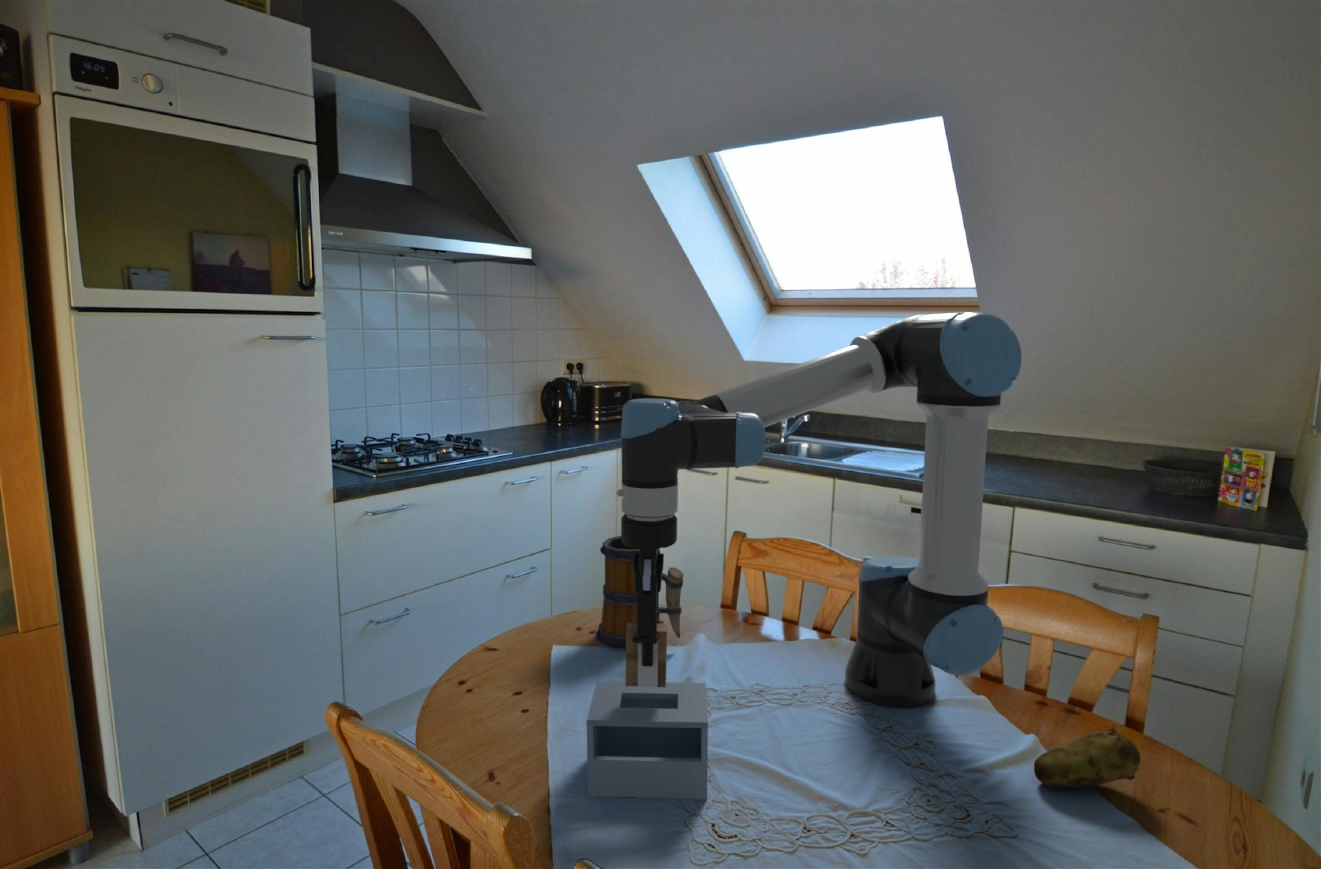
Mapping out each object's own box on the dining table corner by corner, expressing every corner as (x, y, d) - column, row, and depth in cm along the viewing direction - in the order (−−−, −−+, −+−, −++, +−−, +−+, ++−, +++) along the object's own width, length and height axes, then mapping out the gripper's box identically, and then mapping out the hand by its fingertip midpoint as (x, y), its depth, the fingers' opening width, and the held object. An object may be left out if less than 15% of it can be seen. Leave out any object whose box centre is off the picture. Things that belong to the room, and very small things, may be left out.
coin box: (704, 752, 109) (705, 682, 108) (706, 799, 98) (707, 722, 97) (597, 750, 110) (596, 680, 108) (587, 796, 99) (586, 719, 97)
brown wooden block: (665, 678, 103) (667, 623, 102) (665, 687, 101) (666, 631, 100) (626, 677, 104) (627, 622, 102) (625, 685, 101) (626, 630, 100)
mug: (699, 638, 150) (700, 542, 147) (662, 664, 138) (662, 561, 135) (622, 618, 160) (621, 529, 158) (580, 641, 148) (579, 545, 146)
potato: (1028, 760, 108) (1032, 708, 107) (1130, 779, 103) (1136, 726, 102) (1034, 793, 100) (1038, 738, 99) (1145, 815, 95) (1150, 758, 94)
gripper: (626, 500, 107) (625, 654, 110) (615, 529, 91) (615, 707, 94) (677, 501, 107) (676, 655, 110) (676, 530, 91) (674, 708, 94)
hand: (648, 679), depth 102 cm, fingers closed on brown wooden block, 3 cm apart
